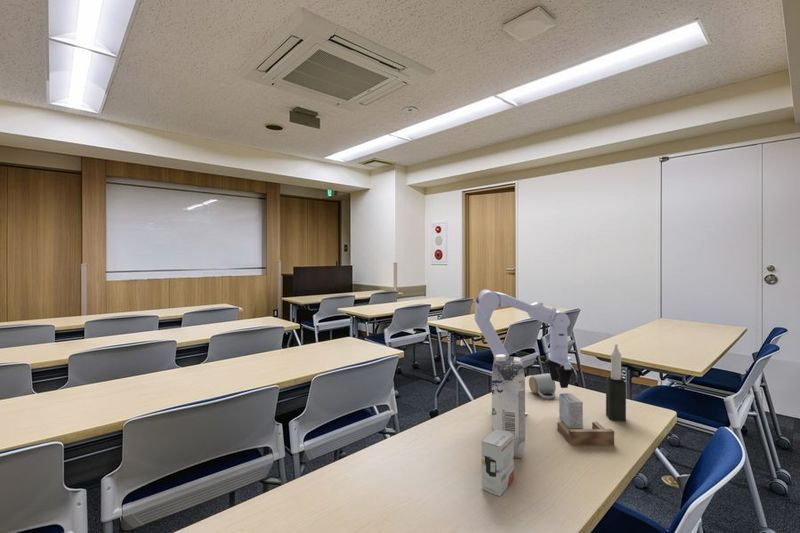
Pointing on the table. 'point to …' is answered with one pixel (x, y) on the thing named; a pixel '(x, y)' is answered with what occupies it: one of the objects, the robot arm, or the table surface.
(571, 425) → the medicine box
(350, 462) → the table surface
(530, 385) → the ceramic mug
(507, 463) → the ink box
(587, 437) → the holder
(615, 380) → the candle
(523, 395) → the juice carton
